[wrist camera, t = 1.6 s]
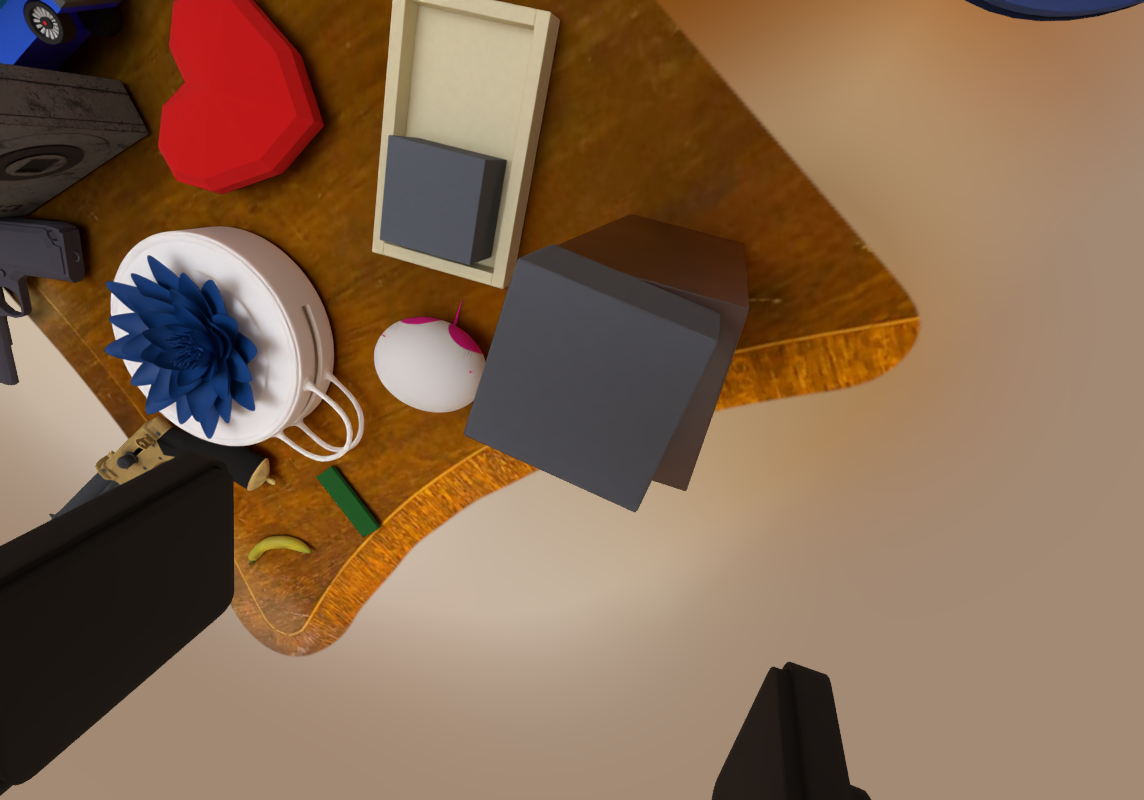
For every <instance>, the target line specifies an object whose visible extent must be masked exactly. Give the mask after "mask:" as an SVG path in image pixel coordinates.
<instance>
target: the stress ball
mask: <svg viewBox="0 0 1144 800" xmlns="http://www.w3.org/2000/svg"><path fill="white" fill-rule="evenodd" d="M461 302H462V301H461ZM460 306H461V304H460ZM460 306H459V309H458V312H457V315H456V318H455V321H454V323H453V324H451V323H449V322H446V321H443V320H440V319H436V318H431V317H413V318H407V319H404V320H401V321H399V322H396V323H395V324H393V325H391V326H390V327H389V328H387V329H386V330H385V331H384V332H383V334H381V336H380V338H379V340H378V342H377V344H376V347H375V352H374V363H375V368H376V371H377V374H378V376H379V378H380V380H381V382H382V383H383V385H384V386H385V387H386V388H387V389H388V391H389V392H390V393H391V394H393V395H394V396H395V397H396V398H397V399H399V400H400V401H402V402H403V403H405V404H407V405H409V406H411V407H414V408H417V409H420V410H423V411H428V412H450V411H455V410H458V409H461V408H463V407H465V406H467V405H468V404H470V403H471V402H472V401H474V398H475V395H476V392H477V389H478V386H479V382H480V379H481V376H482V373H483V369H484V366H485V363H486V362H485V359H484V356H483V354H482V352H481V350H480V348H479V347H478V345H477V344H476V342H475V341H474V340H473V339H472V338H471V337H470V336H469V335H468V334H467V333H466V332H464V331H463V330H462V329H460V328H458V327H457V326H456V323H457V319H458V315H459V311H460Z"/></svg>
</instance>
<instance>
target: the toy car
mask: <svg viewBox="0 0 1144 800" xmlns="http://www.w3.org/2000/svg"><path fill="white" fill-rule="evenodd" d="M122 1H123V0H0V63H3V64H10V65H17V66H24V67H31V68H38V69H45V70H52V71H57V70H58V69H59V68H60V67H61V66H62V65H63V64H64V63H65V62H66V60H67V59H68V58H69V57H70V56H71V55H72V54H73V53H74V52H75V51H76V50H77V49H78V47H79V46H80V45H81V44H82V43H83V42H84V41H85V40H86V39H87V38H88V37H89V36H90V34H91V33H93V34H95V35H97V36H107V35H113V34H117V33H119V32H120V30H121V28H122V19H121V15H120V13H119V11H118V9H117V8H116V6H117V5H118V4H119V3H120V2H122Z"/></svg>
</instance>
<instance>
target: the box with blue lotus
mask: <svg viewBox="0 0 1144 800" xmlns="http://www.w3.org/2000/svg"><path fill="white" fill-rule="evenodd" d="M106 285H107V287H108V288H109V290H110V291H111V292H112V294H111V317H110V318H109V321H110V322H111V323H112V326H113V331H114V335H115V339H116V340H115V341H114V342H112V343H111V344H109V345H108V346H107V347H106V348H105V352H106V353H107V354H109V355H111V356H114V357H117V358H121V359H123V361H124V363H125V365H126V367H127V369H128V371H129V373H130V375H131V376H132V379H131V384H132V385H134V386H138V387H139V389H140V390H141V391H142V393H143V394H144V395H145V396H146V398H147V401H146V412H147V414H153V413H156V412H158V411H160V412H161V413H162V414H163V415H164V416H165V417H166V418H168V419H169V420H170V421H171V422H173V423H174V424H175V425H177V426H178V427H180V428H181V429H183V430H185V431H186V432H188V433H190V434H192V435H194V436H196V437H199V438H201V439H204V440H206V441H209V442H213V443H216V444H221V445H227V446H246V445H252V444H256V443H259V442H262V441H264V440H266V439H268V438H271V437H277V438H280V439H281V440H283V441H284V442H286V443H287V444H288V445H290V446H291V447H292V448H294V449H295V450H297V451H298V452H300V453H301V454H303V455H305V456H307V457H309V458H311V459H314V460H317V461H331V460H335V459H338V458H339V457H341V456H343V455H344V454H345V453H346V452H347V451H349V450H351V449H352V448H354V447H355V446H356V445H357V444H358V443H359V442H360V440H361V438H362V435H363V431H364V415H363V412H362V409H361V407H360V405H359V403H358V401H357V400H356V399H355V397H354V396H353V395H352V394H351V392H350V391H349V390H348V389H347V388H346V387H345V386H344V385H343V384H342V383H341V382H340V381H339V380H338V379H337V378H336V377H335V376H334V375H333V374H332V373H333V366H334V344H333V336H332V331H331V327H330V323H329V320H328V317H327V314H326V311H325V309H324V306H323V304H322V302H321V300H320V298H319V296H318V294H317V292H316V290H315V289H314V287H313V285H312V284H311V282H310V281H309V279H308V278H307V277H306V275H305V274H304V273H303V272H302V270H301V269H300V268H299V267H298V266H297V265H296V264H295V263H294V261H293V260H292V259H290V258H289V257H288V256H287V255H286V254H285V253H284V252H283V251H281V250H280V249H279V248H278V247H276V246H275V245H273V244H272V243H270V242H269V241H267V240H265V239H264V238H262V237H260V236H258V235H256V234H253V233H251V232H248V231H245V230H242V229H238V228H233V227H225V226H215V227H205V228H196V229H187V230H178V231H169V232H163V233H159V234H155V235H152V236H150V237H148V238H146V239H144V240H142V241H141V242H139V243H138V244H137V245H136V246H134V247H133V248H132V249H131V250H130V251H129V253H128V254H127V255H126V257H125V258H124V260H123V261H122V263H121V265H120V267H119V269H118V271H117V274H116V276H115V279H114V282H112V281H109V282H106ZM330 381H331V382H333V383H334V384H336V385H337V386H338V387H339V388H340V389H341V390H342V391H343V392H344V393H345V394H346V395H347V397H348V398H349V399H350V400H351V402H352V403H353V405H354V407H355V408H356V411H357V414H358V419H359V429H358V434H357V436H356V438H355V440H354V441H353V442H352V438H353V429H352V425H351V422H350V420H349V418H348V416H347V414H346V413H345V412H344V410H343V409H342V408H341V407H340V406H339V405H338V404H337V403H336V402H335V401H334V400H332V399H331V398H330V397H329V396H328V395H326V392H327V389H328V387H329V384H330ZM322 399H324V400H325V401H326V402H327V403H328V404H330V405H331V406H332V407H333V408H334V409H335V410H336V411H337V412H338V413H339V415H340V416H341V417H342V419H343V421H344V423H345V425H346V429H347V440H346V444H345V446H344V447H334V446H331V445H329V444H327V443H325V442H324V441H323V440H321V439H320V438H319V437H318V436H317V435H315V434H314V433H313V432H312V431H311V430H310V429H309V428H308V427H307V426H306V425H305V424H304V422H303V418H304V417H306V416H307V415H309V414H310V413H311V412H312V411H313V410H314V409H315V408H316V407H317V406H318V405H319V403H320V402H321V401H322ZM289 426H297V427H299V428H301V429H302V430H303V431H304V432H306V433H307V434H308V435H309V436H310V437H311V438H312V439H313V440H314V441H316V442H317V443H318V444H319V445H321V446H322V447H323V448H325V449H327V450H329V451H332V452H338V453H336V454H334V455H330V456H319V455H315V454H313V453H310V452H308V451H306V450H305V449H303V448H301V447H300V446H298V445H297V444H295V443H294V442H293V441H291V440H290V439H289V438H288V437H287V436H286V435H285V434H284V433H283V431H284V429H285V428H287V427H289Z"/></svg>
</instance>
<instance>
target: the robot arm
mask: <svg viewBox="0 0 1144 800" xmlns="http://www.w3.org/2000/svg"><path fill="white" fill-rule="evenodd" d="M233 595H234V503H233V477H232V475H231V474H230V473H229V472H228V467H227V465H226V464H225V463H224V462H222V461H220V460H218V459H215V458H212V457H209V456H206V455H203V454H201V453H198V452H195V451H188V452H185V453H182V454H180V455H178V456H176V457H174V458H172V459H170V460H168V461H166V462H164V463H162V464H160V465H159V466H157V467H155V468H153V469H151V470H149V471H147V472H145V473H143V474H141V475H139V476H137V477H135V478H133V479H131V480H129V481H127V482H125V483H123V484H121V485H119V486H117V487H115V488H113V489H111V490H109V491H108V492H106V493H104V494H102V495H100V496H98V497H96V498H94V499H92V500H90V501H88V502H86V503H84V504H82V505H80V506H78V507H76V508H74V509H72V510H70V511H68V512H66V513H64V514H62V515H60V516H58V517H57V518H55V519H53V520H51V521H49V522H47V523H45V524H43V525H41V526H39V527H37V528H35V529H33V530H31V531H29V532H27V533H25V534H23V535H21V536H19V537H17V538H16V539H13V540H12V541H9V542H8V543H6V544H4V545H2V546H0V795H2V794H3V793H4V792H5V791H7V790H8V789H9V788H10V787H11V786H12V785H19V784H22V783H24V782H26V781H28V780H29V779H31V778H32V777H33V776H35V775H36V774H37V773H38V772H39V771H41V770H42V769H43V768H44V767H45V766H46V765H48V764H49V763H50V762H51V761H52V760H53V759H55V758H56V757H57V756H58V755H59V754H60V753H62V752H63V751H64V750H65V749H66V748H67V747H68V746H69V745H71V744H72V743H73V742H74V741H75V740H77V739H78V738H79V737H80V736H81V735H82V734H83V733H85V732H86V731H87V730H88V729H89V728H90V727H92V726H93V725H94V724H95V723H96V722H97V721H99V720H100V719H101V718H102V717H103V716H104V715H106V714H107V713H108V712H109V711H110V710H111V709H112V708H113V707H115V706H116V705H117V704H118V703H119V702H120V701H122V700H123V699H124V698H125V697H126V696H128V695H129V694H130V693H131V692H132V691H133V690H134V689H136V688H137V687H138V686H139V685H140V684H141V683H143V682H144V681H145V680H146V679H147V678H148V677H149V676H151V675H152V674H153V673H154V672H155V671H156V670H157V669H159V668H160V667H161V666H162V665H163V664H165V663H166V662H167V661H168V660H169V659H170V658H172V656H174V655H175V654H176V653H177V652H179V651H180V650H181V649H182V648H183V647H184V646H185V645H186V644H188V643H189V642H190V641H191V640H192V639H194V638H195V637H196V636H197V635H198V634H199V633H201V632H202V631H203V630H204V629H205V628H206V627H207V626H208V625H210V624H211V623H212V622H213V621H214V620H216V619H217V618H218V617H219V616H220V615H221V614H222V613H223V612H224V611H225V610H226V609H227V607H228V606H229V605H230V603H231V601H232V598H233ZM712 800H871V799H870V797H869V796H868V794H867V793H866V791H864V790H862V789H860V788H857V787H855V786H852V785H850V782H849V777H848V771H847V766H846V761H845V755H844V750H843V745H842V739H841V734H840V729H839V724H838V718H837V713H836V708H835V703H834V697H833V692H832V687H831V682H830V679H829V677H828V676H827V675H826V674H823V673H820V672H817V671H814V670H812V669H808V668H806V667H803V666H800V665H797V664H795V663H792V662H787V663H786V664H785V665H784V667H783V669H779V668H776V667H772V668H770V670H769V672H768V673H767V676H766V678H765V680H764V682H763V684H762V686H761V688H760V690H759V692H758V694H757V697H756V699H755V701H754V703H753V705H752V707H751V709H750V711H749V713H748V716H747V718H746V719H745V722H744V724H743V726H742V728H741V730H740V732H739V734H738V736H737V738H736V740H735V743H734V745H733V747H732V749H731V751H730V753H729V755H728V757H727V759H726V761H725V763H724V766H723V768H722V770H721V772H720V774H719V776H718V778H717V781H716V783H715V787H714V790H713V796H712Z"/></svg>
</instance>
